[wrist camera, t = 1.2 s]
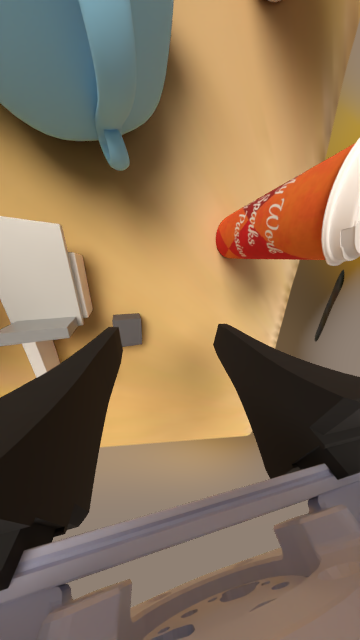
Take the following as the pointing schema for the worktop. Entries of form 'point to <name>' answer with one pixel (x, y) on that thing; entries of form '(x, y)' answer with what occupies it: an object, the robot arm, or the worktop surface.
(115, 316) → the gray block
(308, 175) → the coffee cup
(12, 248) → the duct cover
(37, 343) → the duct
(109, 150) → the decorative pot
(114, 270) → the worktop surface
